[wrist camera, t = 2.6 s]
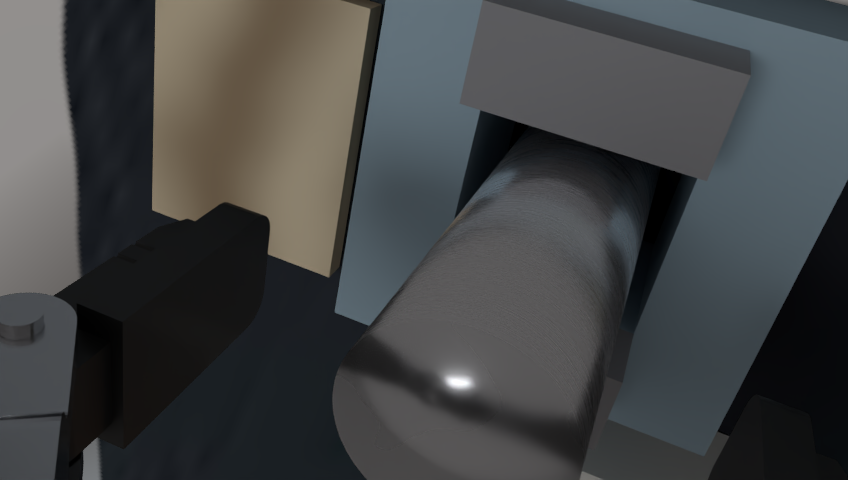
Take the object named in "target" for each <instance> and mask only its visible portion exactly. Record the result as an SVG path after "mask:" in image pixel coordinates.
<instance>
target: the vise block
mask: <svg viewBox="0 0 848 480" xmlns="http://www.w3.org/2000/svg"><path fill="white" fill-rule="evenodd" d="M515 122H520V123H523V124H526V125H529V126H532V127H536V128H539V129H542V130H545V131H548V132H551V133H555V134H558V135H561V136H564V137H567V138H571V139H574V140H577V141H580V142H583V143H586V144H590V145H593V146H596V147H599V148H602V149H606V150H609V151H612V152H615V153H618V154H622V155H625V156H628V157H631V158H634V159H637V160H641V161H644V162H647V163H650V164H653V165H657V166H660V167H663V168H666V169H669V170H672V171H676V172H679V173H682V175H681V178H680V180H679V183H678V185H677V188H676V190H675V193H674V195H673V198H672V200H671V203H670V205H669V208H668V210H667V213H666V215H665V218H664V220H663V223H662V225H661V228H660V230H659V233H658V235H657V238H656V240H655V243H654V244H653V243H650V242H647V241H644V240H642V243H641V246H640V250H639V254H638V258H637V262H636V266H635V269H634V273H633V277H632V281H631V285H630V289H629V293H628V296H627V300H626V304H625V308H624V312H623V316H622V319H621V323H620V327H619V331H618V335H617V339H616V342H615V346H614V350H613V354H612V358H611V362H610V366H609V369H608V373H607V377H606V381H605V385H604V389H603V392H602V396H601V400H600V404H599V408H598V412H597V415H596V419H595V423H594V427H593V431H592V435H591V438H590V442H589V446H588V448H590V449H592V450H595V448H596V446H597V443H598V441H599V438H600V436H601V434H602V431H603V429H604V426H605V424H606V422H607V419H609V420H612V421H614V422H617V423H619V424H622V425H624V426H627V427H629V428H632V429H635V430H637V431H640V432H642V433H645V434H647V435H650V436H652V437H655V438H658V439H660V440H663V441H665V442H668V443H670V444H673V445H675V446H678V447H681V448H683V449H686V450H688V451H691V452H693V453H696V454H698V455H701V456H705V454H706V452H707V450H708V448H709V446H710V444H711V442H712V440H713V438H714V437H715V435H716V433H717V431H718V429H719V427H720V425H721V423H722V421H723V419H724V417H725V415H726V413H727V411H728V410H729V408H730V406H731V404H732V402H733V400H734V398H735V396H736V394H737V392H738V390H739V388H740V386H741V384H742V383H743V381H744V379H745V377H746V375H747V373H748V371H749V369H750V367H751V365H752V363H753V361H754V359H755V357H756V356H757V354H758V352H759V350H760V348H761V346H762V344H763V342H764V340H765V338H766V336H767V334H768V332H769V331H770V329H771V327H772V325H773V323H774V321H775V319H776V317H777V315H778V313H779V311H780V309H781V307H782V305H783V304H784V302H785V300H786V298H787V296H788V294H789V292H790V290H791V288H792V286H793V284H794V282H795V280H796V278H797V277H798V275H799V273H800V271H801V269H802V267H803V265H804V263H805V261H806V259H807V257H808V255H809V253H810V251H811V250H812V248H813V246H814V244H815V242H816V240H817V238H818V236H819V234H820V232H821V230H822V228H823V226H824V224H825V223H826V221H827V219H828V217H829V215H830V213H831V211H832V209H833V207H834V205H835V203H836V201H837V199H838V197H839V196H840V194H841V192H842V190H843V188H844V186H845V184H846V182H847V180H848V6H846V5H842V4H838V3H834V2H830V1H826V0H386V3H385V9H384V15H383V21H382V27H381V33H380V39H379V45H378V51H377V57H376V64H375V70H374V76H373V82H372V88H371V94H370V100H369V106H368V112H367V118H366V125H365V131H364V137H363V143H362V149H361V155H360V161H359V167H358V173H357V179H356V186H355V192H354V198H353V204H352V210H351V216H350V222H349V228H348V234H347V240H346V246H345V253H344V259H343V265H342V271H341V277H340V283H339V289H338V295H337V301H336V307H335V313H338V314H341V315H343V316H346V317H348V318H351V319H353V320H356V321H358V322H361V323H364V324H366V325H369V326H370V325H371V323H372V322H373V321H374V320H375V318H376V317H377V316H378V315H379V313H380V312H381V311H382V310H383V308H384V307H385V306H386V305H387V303H388V302H389V301H390V300H391V298H392V297H393V296H394V294H395V293H396V292H397V291H398V289H399V288H400V287H401V286H402V284H403V283H404V282H405V281H406V279H407V278H408V277H409V276H410V274H411V273H412V272H413V271H414V269H415V268H416V267H417V266H418V264H419V263H420V262H421V261H422V259H423V258H424V257H425V256H426V254H427V253H428V252H429V251H430V249H431V248H432V247H433V246H434V244H435V243H436V242H437V241H438V239H439V238H440V237H441V236H442V234H443V233H444V232H445V231H446V229H447V228H448V227H449V226H450V224H451V223H452V222H453V221H454V219H455V218H456V217H457V216H458V214H459V213H460V212H461V210H462V209H463V208H464V207H465V205H466V204H467V203H468V202H469V200H470V199H471V198H472V197H473V195H474V194H475V193H476V192H477V190H478V189H479V188H480V187H481V185H482V184H483V183H484V182H485V180H486V179H487V178H488V177H489V175H490V174H491V173H492V172H493V170H494V169H495V168H496V167H497V165H498V164H499V163H500V162H501V160H502V159H503V158H504V157H505V155H506V154H507V152H508V149H509V145H510V141H511V137H512V134H513V130H514V126H515Z"/></svg>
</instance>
